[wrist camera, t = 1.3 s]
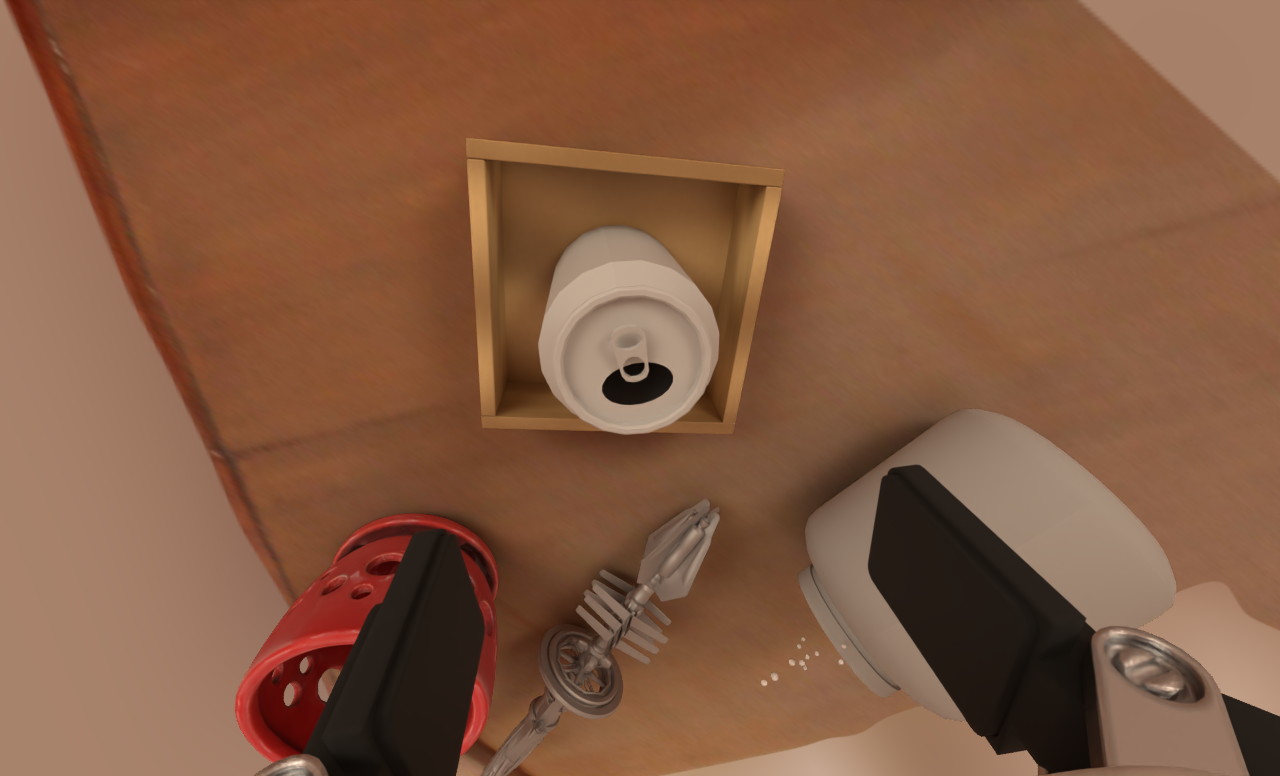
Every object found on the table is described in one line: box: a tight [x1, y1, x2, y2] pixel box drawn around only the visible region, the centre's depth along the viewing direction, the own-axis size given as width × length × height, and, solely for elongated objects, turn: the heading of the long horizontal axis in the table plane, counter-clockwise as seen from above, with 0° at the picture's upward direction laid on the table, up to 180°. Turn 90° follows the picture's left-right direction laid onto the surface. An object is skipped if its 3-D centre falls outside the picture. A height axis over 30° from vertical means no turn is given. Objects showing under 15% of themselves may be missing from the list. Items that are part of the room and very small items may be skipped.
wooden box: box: [466, 138, 785, 434], centre depth 27 cm, size 15×15×5 cm
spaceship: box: [481, 499, 720, 776], centre depth 39 cm, size 8×35×8 cm
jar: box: [761, 408, 1177, 722], centre depth 34 cm, size 19×15×25 cm
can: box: [538, 225, 719, 435], centre depth 24 cm, size 8×8×12 cm
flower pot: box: [235, 514, 499, 763], centre depth 32 cm, size 13×13×12 cm
